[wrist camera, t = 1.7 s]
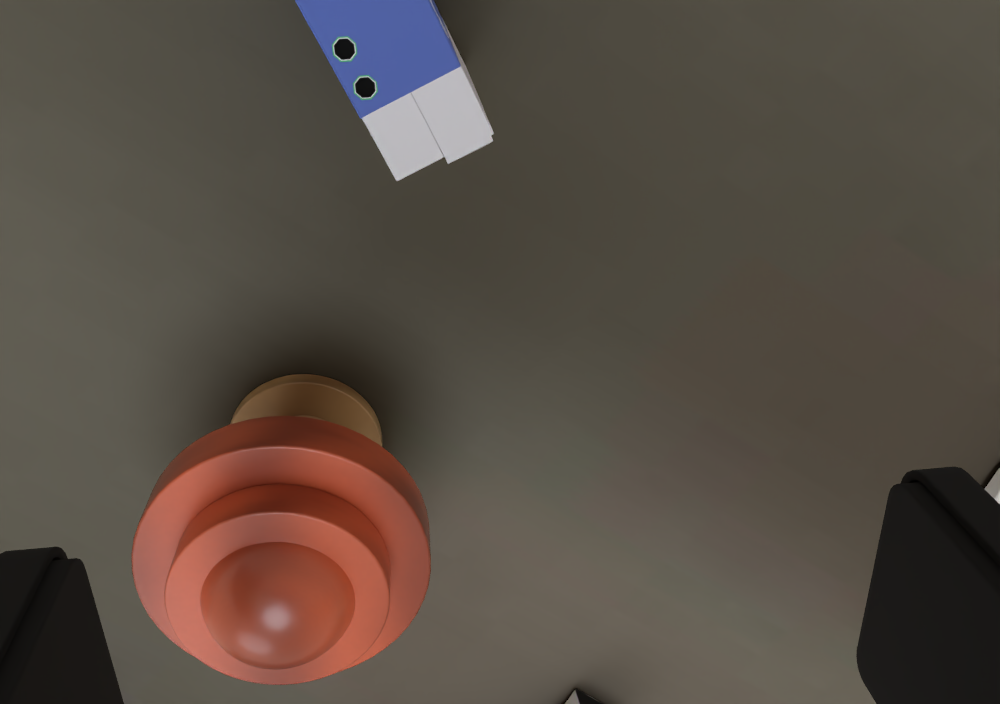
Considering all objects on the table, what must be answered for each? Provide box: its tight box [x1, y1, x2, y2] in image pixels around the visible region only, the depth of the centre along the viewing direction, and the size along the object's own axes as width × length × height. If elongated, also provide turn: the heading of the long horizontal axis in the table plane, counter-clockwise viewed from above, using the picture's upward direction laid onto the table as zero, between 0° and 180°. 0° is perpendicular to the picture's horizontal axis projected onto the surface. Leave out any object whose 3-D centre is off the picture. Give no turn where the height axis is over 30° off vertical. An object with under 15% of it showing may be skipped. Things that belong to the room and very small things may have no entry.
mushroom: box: [132, 374, 431, 685], centre depth 34 cm, size 10×10×12 cm
